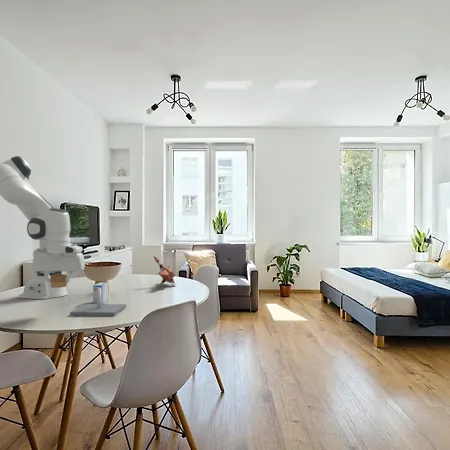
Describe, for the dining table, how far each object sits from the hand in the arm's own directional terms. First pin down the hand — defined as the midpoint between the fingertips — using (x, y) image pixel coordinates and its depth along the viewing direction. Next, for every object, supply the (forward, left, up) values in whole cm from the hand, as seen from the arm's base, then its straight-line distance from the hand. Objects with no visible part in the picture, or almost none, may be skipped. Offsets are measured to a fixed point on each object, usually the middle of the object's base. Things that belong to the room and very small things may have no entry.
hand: (58, 282), depth 147 cm
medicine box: (+9, +20, -13) cm, 26 cm away
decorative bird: (+30, +62, -13) cm, 71 cm away
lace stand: (+15, +3, -13) cm, 20 cm away
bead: (0, 0, -2) cm, 2 cm away
